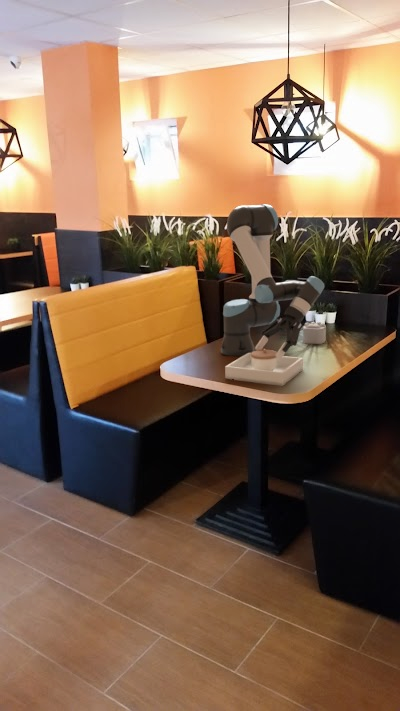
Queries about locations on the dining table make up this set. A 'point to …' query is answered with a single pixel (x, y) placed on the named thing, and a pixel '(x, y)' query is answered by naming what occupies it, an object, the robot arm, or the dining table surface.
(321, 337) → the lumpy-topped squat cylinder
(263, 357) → the lidded jar
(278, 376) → the cream square tray
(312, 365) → the dining table surface
